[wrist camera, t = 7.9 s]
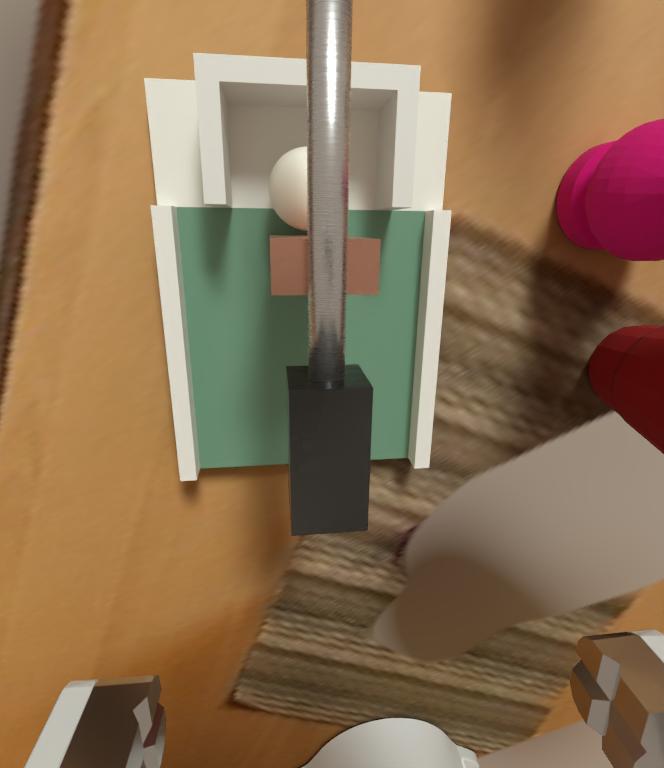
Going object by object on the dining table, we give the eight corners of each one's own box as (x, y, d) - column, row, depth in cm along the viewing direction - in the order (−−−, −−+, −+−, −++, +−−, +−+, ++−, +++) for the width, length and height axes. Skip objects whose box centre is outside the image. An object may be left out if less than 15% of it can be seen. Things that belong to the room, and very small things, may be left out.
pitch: (415, 447, 33) (442, 487, 28) (188, 458, 31) (172, 503, 26) (442, 100, 26) (483, 69, 21) (151, 86, 24) (119, 48, 19)
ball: (354, 147, 21) (341, 148, 25) (267, 144, 21) (267, 145, 24) (350, 236, 23) (339, 225, 27) (269, 236, 23) (269, 224, 26)
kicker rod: (338, 416, 29) (379, 529, 18) (275, 418, 29) (278, 536, 18) (345, -20, 22) (421, -268, 11) (262, -27, 22) (253, -292, 11)
